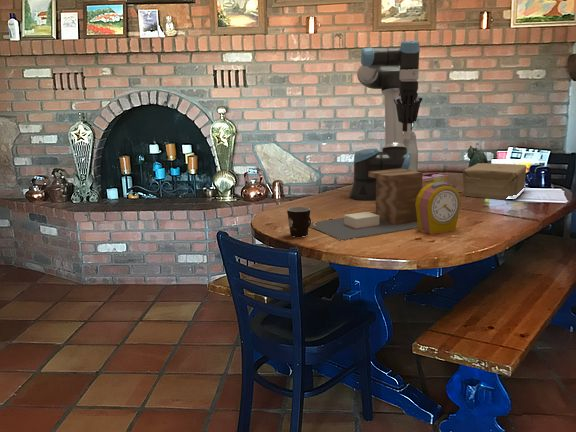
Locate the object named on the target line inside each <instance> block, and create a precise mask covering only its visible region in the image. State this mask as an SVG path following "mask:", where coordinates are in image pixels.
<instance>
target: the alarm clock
mask: <svg viewBox="0 0 576 432" xmlns="http://www.w3.org/2000/svg"><path fill="white" fill-rule="evenodd" d="M461 201H462V200H461V196H460V194H459V192H458V190H457V189H455V188H454V187H453V186H451V183H449V182H448V183H443V182H437V183H431V184H428V185H426V186H424V187H423V188H422V189H421V190H420V192H419V194H418V195H417V198H416V203H415V206H416V214H417V223H418V228H417V229H418V231H421V232H423V233H427V234H428V235H429V234H430V235H432V234H433V235H434V234H441V233H448V232H454V231H456V229H457V225H458V219H459V213H460V208H461Z"/></svg>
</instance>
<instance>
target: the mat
mask: <svg viewBox="0 0 576 432" xmlns="http://www.w3.org/2000/svg"><path fill="white" fill-rule="evenodd" d="M373 214H376V212H375V213H373ZM311 222H312V223H311V224H310V226H311V227H313V228H315V229H318V230H320V231H322V232H324V233H327V234H329V235H331V236H333V237H332V238H334V237H336V238H338V239H340V240H339V241H341V240H344V241H346V240H345V239H350V240H354V239H353V238H356V239H361V237H362V238H367V237H373V236H374V237H375V236H379V235H384V234H390V233H397V232H402V231H403V232H404V231H410V230H415V229H418V223H417V222H412V223H406V224H400V225H395V224H392V223H389V222H386V221H384V220H381V219H379V226H373V227H367V228H360V229H354V228H351V227H349V226H346V225H344V217H340V218H333V219H327V220H320V221H316V222H317V223H315V225H316V226H314V225H313V223H314V222H315V221H311ZM311 227H310V228H311ZM313 228H312V229H313ZM315 229H314V230H315ZM318 230H317V231H318ZM320 231H319V232H320ZM322 232H321V233H322ZM324 233H323V234H324ZM327 234H326V235H327ZM329 235H328V236H329ZM331 236H330V237H331ZM336 238H335V239H336ZM338 239H337V240H338Z"/></svg>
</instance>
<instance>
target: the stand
mask: <svg viewBox="0 0 576 432" xmlns="http://www.w3.org/2000/svg"><path fill="white" fill-rule="evenodd" d="M423 175H424V174H423V172H420V171H418V170H417V171H412V170H407V169H401V168H398V169H389V170H379V171H369V172H368V177H372V178H376V199H375V213H376V215H379V219H381V220H384V221H386V222H389V223H392V224H395V225H400V224H406V223H412V222H417V214H416V206H415V203H416V198H417V195H418V194H419V192H420V190H421V189H422V178H423Z"/></svg>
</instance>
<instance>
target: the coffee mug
mask: <svg viewBox="0 0 576 432" xmlns="http://www.w3.org/2000/svg"><path fill="white" fill-rule="evenodd" d="M286 211H287V212H286V213H287V219H288V225H289V226H288V227H289V233H290V234H289V235H290V237H291V236H295V237H302V236H306V235H308V236H309V234H308V233H309V228H310V227H309V226H310V224H311V222H312V219H311V217H310V216H311V208H310V207H307V206H291V207H288V208H287V209H286ZM295 237H294V238H295ZM306 237H307V236H306ZM302 238H303V237H302Z"/></svg>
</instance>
